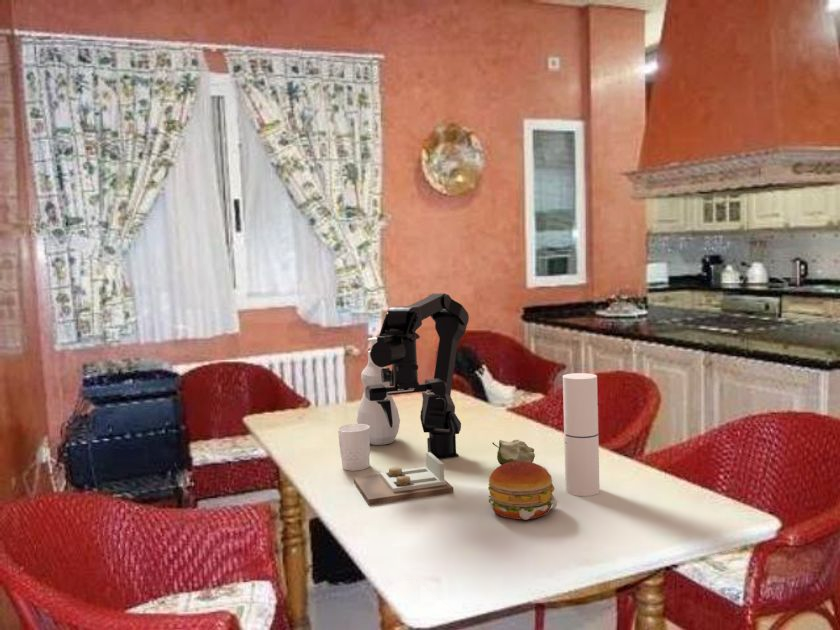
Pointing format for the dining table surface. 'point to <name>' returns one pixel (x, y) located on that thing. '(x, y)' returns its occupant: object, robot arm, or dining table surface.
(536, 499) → the burger
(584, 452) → the cylindrical container
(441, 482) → the panel
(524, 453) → the fruit
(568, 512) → the dining table surface
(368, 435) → the white cup
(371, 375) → the soap bottle
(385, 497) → the board
